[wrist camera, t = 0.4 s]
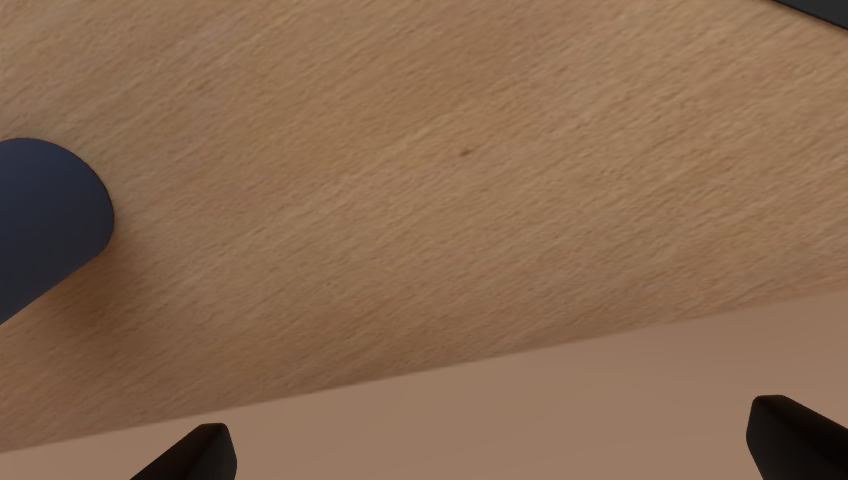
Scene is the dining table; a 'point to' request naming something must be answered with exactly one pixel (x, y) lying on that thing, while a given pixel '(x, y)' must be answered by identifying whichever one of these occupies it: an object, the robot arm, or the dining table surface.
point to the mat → (822, 10)
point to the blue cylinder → (46, 219)
